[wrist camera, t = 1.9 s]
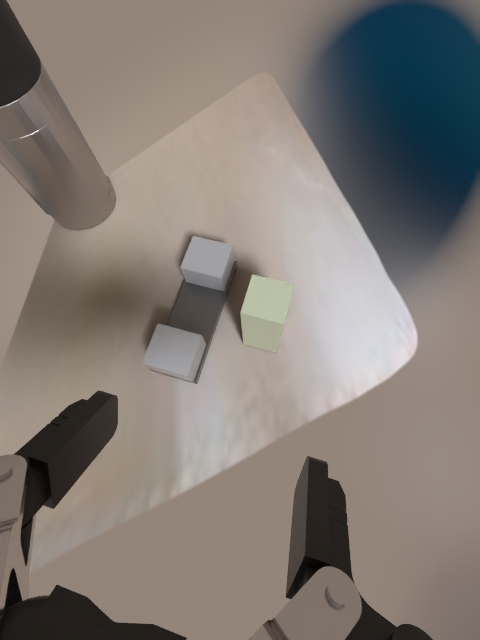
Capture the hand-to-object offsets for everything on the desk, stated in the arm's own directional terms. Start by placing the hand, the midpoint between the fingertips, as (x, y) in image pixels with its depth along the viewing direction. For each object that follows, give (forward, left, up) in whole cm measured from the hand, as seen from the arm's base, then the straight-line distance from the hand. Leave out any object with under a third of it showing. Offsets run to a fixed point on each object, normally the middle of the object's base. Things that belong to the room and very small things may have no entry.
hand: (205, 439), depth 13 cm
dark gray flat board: (-9, +12, -23) cm, 27 cm away
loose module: (0, +12, -23) cm, 26 cm away
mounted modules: (-9, +12, -23) cm, 27 cm away
